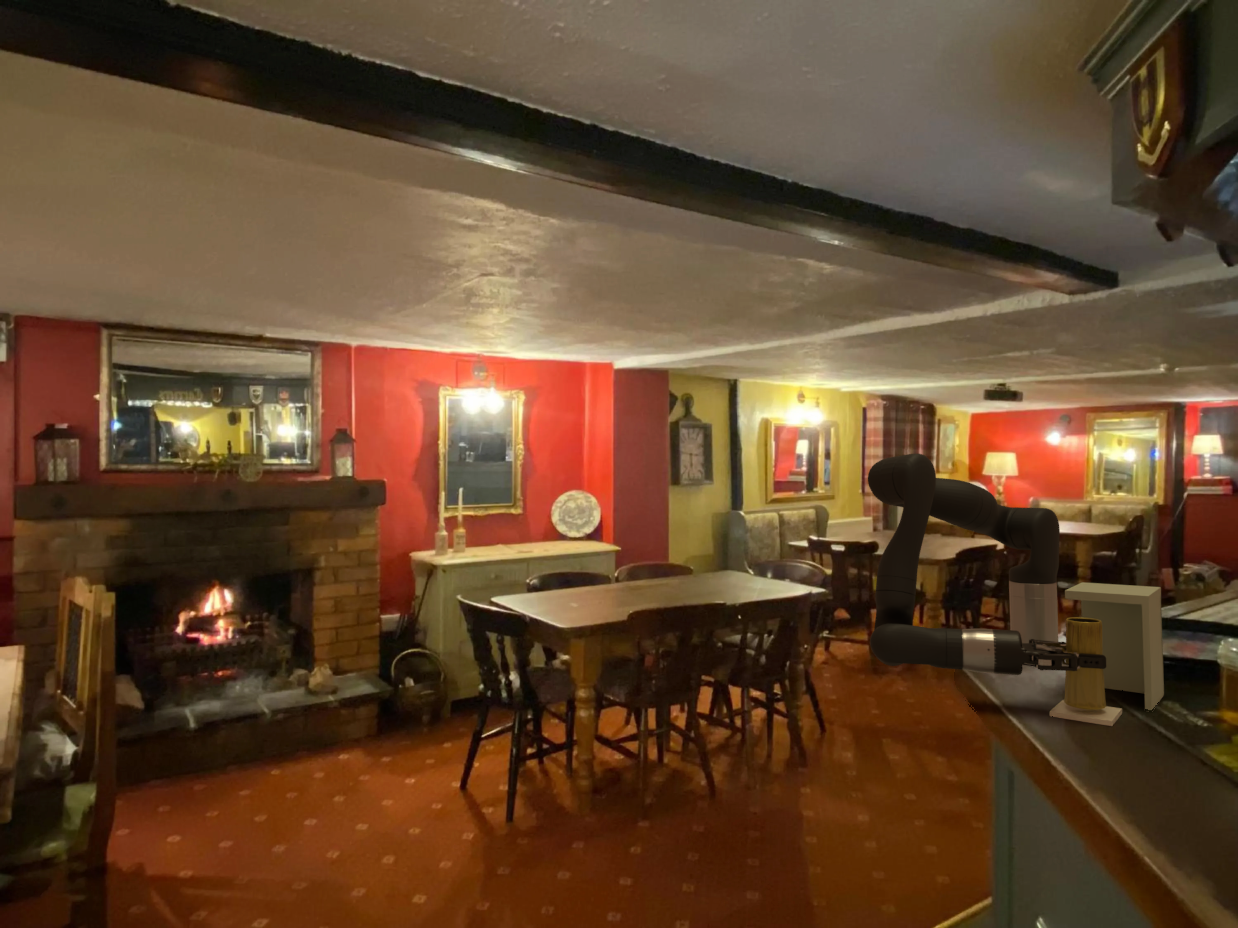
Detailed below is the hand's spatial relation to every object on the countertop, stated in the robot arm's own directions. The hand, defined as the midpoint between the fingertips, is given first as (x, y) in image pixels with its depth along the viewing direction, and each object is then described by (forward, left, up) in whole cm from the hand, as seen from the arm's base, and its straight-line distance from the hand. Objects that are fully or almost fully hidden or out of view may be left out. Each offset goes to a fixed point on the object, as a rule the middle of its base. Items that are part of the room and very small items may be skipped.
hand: (1101, 657), depth 135 cm
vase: (+1, -2, -8) cm, 9 cm away
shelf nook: (-15, 0, -10) cm, 18 cm away
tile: (+1, -2, -10) cm, 10 cm away
